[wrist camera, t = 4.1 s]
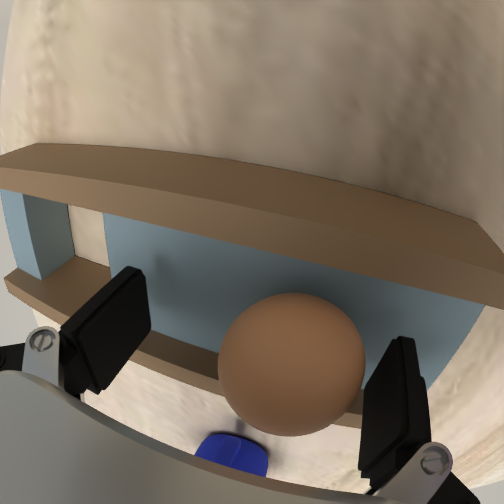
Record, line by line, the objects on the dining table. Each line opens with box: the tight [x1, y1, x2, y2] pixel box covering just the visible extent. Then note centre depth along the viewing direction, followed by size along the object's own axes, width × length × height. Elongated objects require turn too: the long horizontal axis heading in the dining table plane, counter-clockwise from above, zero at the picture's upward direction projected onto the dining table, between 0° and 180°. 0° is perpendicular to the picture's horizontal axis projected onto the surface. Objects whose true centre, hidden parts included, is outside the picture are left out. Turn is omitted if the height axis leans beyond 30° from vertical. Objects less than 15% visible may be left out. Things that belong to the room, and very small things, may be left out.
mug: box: [195, 434, 268, 477], centre depth 20 cm, size 8×12×10 cm
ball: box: [218, 293, 366, 437], centre depth 9 cm, size 5×5×5 cm
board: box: [0, 143, 504, 429], centre depth 13 cm, size 26×9×5 cm, turn 83°
